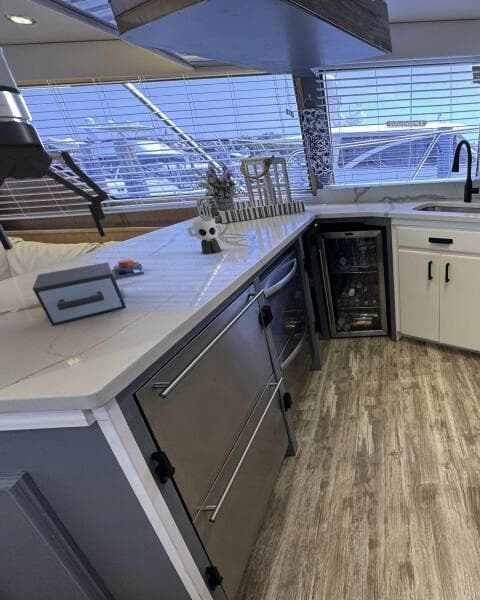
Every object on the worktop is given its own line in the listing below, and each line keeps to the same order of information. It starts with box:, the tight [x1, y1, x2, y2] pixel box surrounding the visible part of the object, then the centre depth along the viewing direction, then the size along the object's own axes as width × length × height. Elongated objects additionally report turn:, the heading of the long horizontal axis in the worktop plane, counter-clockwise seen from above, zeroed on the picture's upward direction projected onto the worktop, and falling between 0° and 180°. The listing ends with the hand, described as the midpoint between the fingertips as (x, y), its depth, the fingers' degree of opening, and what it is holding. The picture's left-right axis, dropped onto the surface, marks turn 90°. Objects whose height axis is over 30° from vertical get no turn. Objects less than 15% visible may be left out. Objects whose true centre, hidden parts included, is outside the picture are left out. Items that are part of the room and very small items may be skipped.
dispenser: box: [32, 262, 127, 327], centre depth 75 cm, size 14×13×9 cm
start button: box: [117, 258, 135, 267], centre depth 96 cm, size 4×4×2 cm
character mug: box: [187, 218, 224, 255], centre depth 116 cm, size 11×7×13 cm, turn 128°
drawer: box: [38, 278, 122, 323], centre depth 72 cm, size 17×11×7 cm, turn 43°
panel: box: [111, 261, 145, 281], centre depth 96 cm, size 12×10×4 cm
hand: (59, 242), depth 65 cm, fingers open, 13 cm apart
